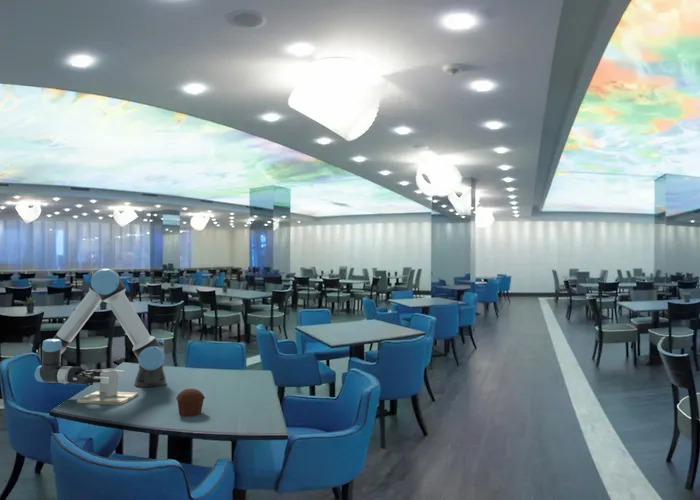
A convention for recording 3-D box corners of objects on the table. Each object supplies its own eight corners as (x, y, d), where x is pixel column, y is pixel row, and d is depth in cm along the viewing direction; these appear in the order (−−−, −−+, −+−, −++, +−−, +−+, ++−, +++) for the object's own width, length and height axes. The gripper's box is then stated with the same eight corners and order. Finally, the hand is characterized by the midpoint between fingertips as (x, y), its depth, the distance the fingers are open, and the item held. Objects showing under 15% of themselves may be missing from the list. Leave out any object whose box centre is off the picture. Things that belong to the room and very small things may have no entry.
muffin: (209, 411, 219) (210, 387, 219) (195, 418, 208) (196, 394, 208) (184, 408, 222) (185, 385, 222) (169, 415, 211) (170, 391, 211)
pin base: (97, 393, 241) (97, 384, 241) (138, 395, 240) (138, 386, 240) (76, 402, 225) (77, 393, 225) (121, 404, 224) (121, 395, 224)
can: (121, 395, 235) (122, 368, 235) (108, 399, 228) (109, 372, 228) (108, 393, 237) (109, 367, 238) (95, 397, 230) (96, 370, 231)
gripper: (86, 377, 246) (129, 379, 245) (53, 390, 221) (101, 392, 220) (87, 361, 247) (129, 363, 245) (54, 372, 222) (101, 374, 220)
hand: (116, 377), depth 233 cm, fingers open, 13 cm apart
